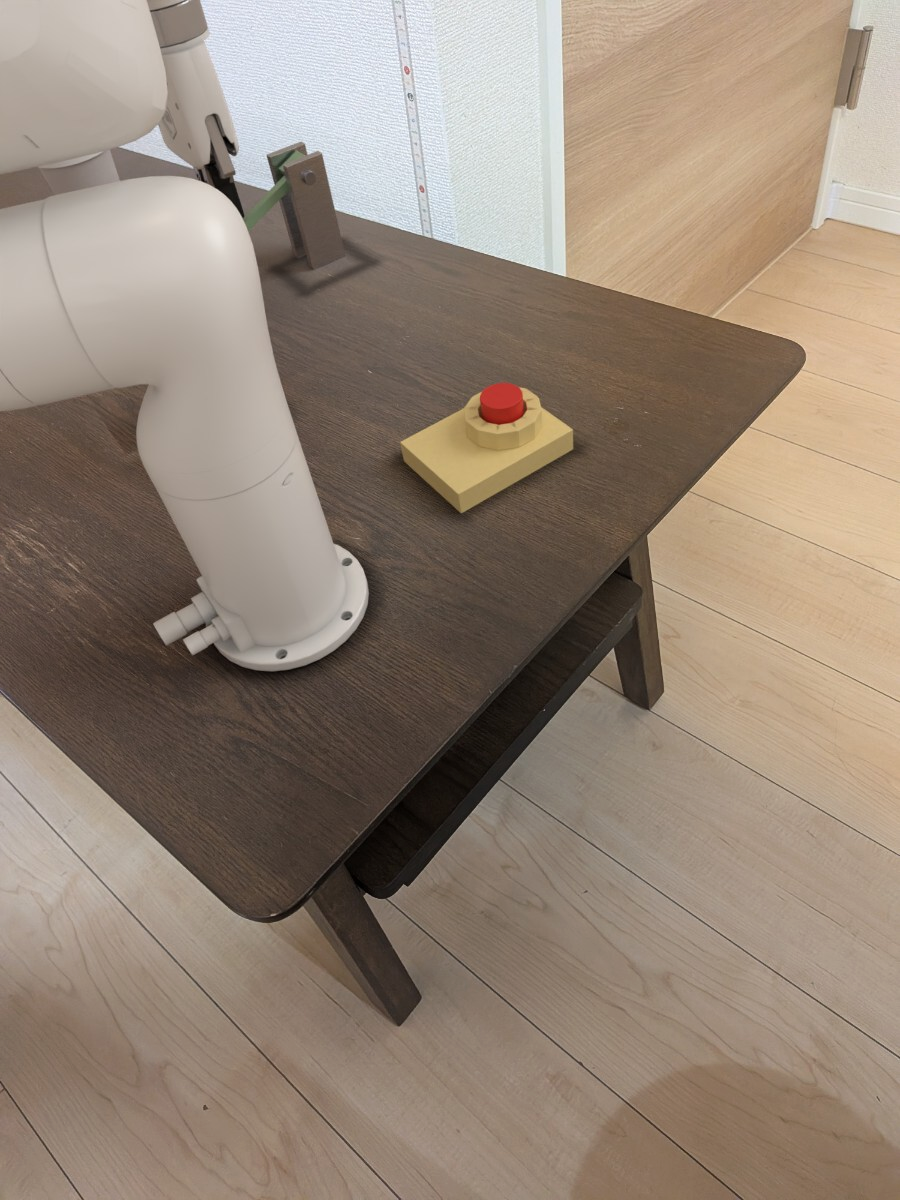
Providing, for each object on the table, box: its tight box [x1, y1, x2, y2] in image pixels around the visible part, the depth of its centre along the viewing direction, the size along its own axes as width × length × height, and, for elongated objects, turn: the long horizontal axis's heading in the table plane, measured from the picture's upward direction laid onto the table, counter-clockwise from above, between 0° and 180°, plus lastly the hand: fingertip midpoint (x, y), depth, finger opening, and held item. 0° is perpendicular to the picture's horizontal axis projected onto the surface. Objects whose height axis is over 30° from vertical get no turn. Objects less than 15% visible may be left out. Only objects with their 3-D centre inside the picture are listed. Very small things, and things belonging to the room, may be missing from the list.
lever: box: [243, 151, 305, 232], centre depth 91 cm, size 13×3×3 cm, turn 124°
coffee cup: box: [37, 149, 121, 196], centre depth 102 cm, size 10×10×15 cm
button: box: [480, 382, 524, 425], centre depth 70 cm, size 4×4×2 cm
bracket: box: [266, 141, 346, 271], centre depth 94 cm, size 9×8×13 cm
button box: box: [399, 386, 574, 514], centre depth 71 cm, size 12×9×4 cm
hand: (229, 220), depth 90 cm, fingers closed
